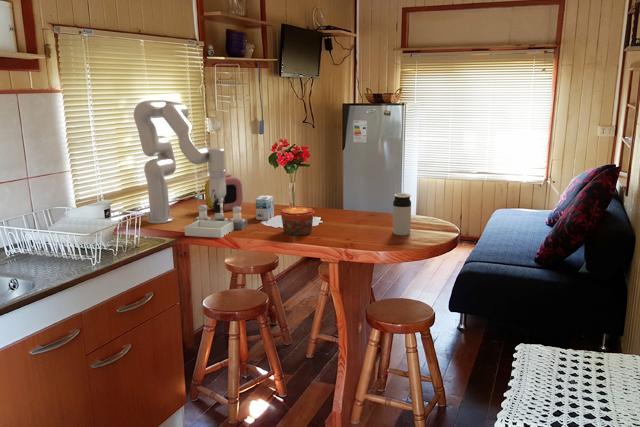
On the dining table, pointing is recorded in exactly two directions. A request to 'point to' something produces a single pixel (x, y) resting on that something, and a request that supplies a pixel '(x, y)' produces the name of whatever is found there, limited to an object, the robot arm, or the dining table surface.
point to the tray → (209, 228)
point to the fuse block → (236, 225)
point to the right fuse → (237, 214)
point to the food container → (297, 220)
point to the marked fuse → (220, 215)
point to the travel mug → (401, 214)
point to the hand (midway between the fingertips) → (219, 211)
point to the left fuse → (202, 212)
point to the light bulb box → (264, 207)
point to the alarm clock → (228, 193)
